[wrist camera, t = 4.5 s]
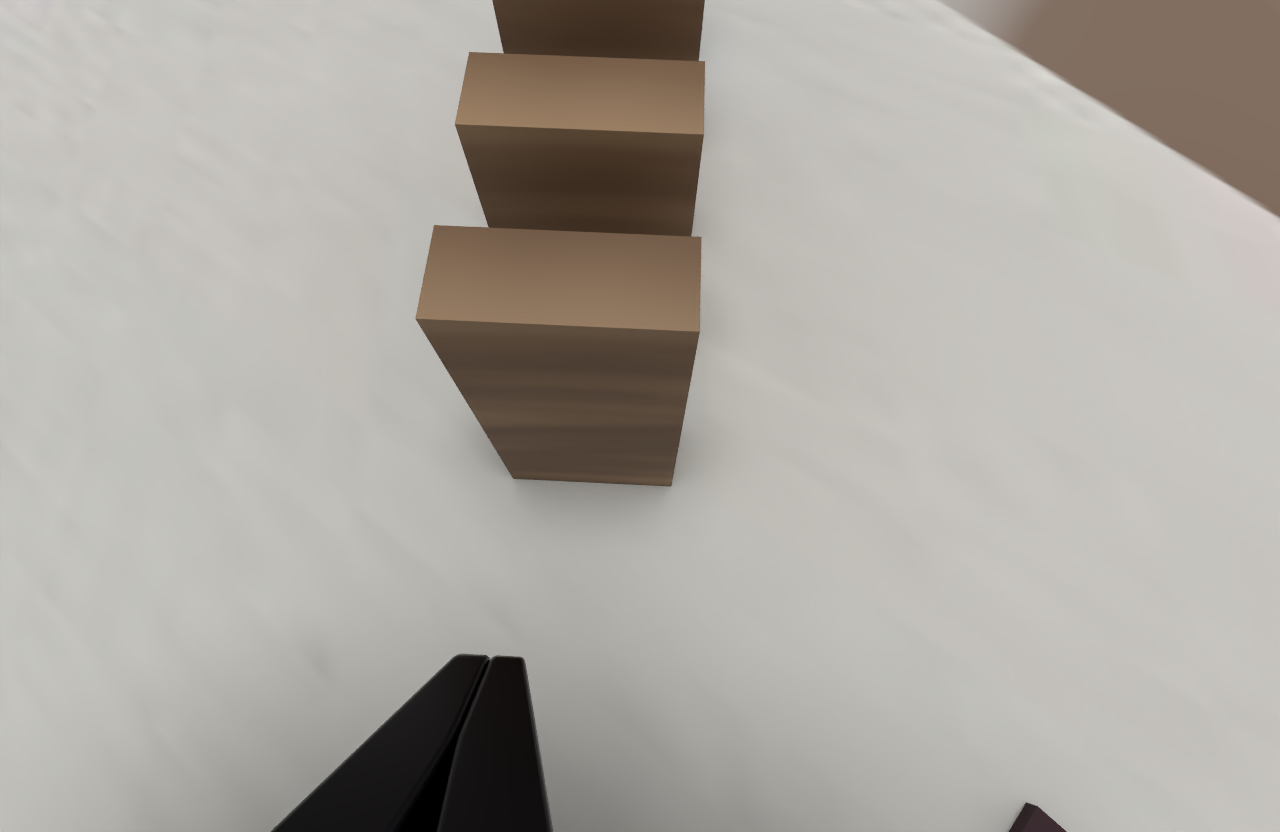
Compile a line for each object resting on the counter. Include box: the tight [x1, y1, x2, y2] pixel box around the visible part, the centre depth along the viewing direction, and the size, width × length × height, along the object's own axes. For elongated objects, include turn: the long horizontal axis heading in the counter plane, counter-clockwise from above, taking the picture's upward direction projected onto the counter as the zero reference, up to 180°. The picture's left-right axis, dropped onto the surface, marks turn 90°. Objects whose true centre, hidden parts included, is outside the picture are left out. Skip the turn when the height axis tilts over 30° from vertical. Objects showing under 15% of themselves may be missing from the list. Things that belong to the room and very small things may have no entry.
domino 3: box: [416, 225, 701, 486], centre depth 17 cm, size 2×5×10 cm, turn 87°
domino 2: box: [455, 52, 705, 237], centre depth 18 cm, size 2×5×10 cm, turn 87°
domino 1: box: [493, 0, 705, 61], centre depth 20 cm, size 2×5×10 cm, turn 87°
